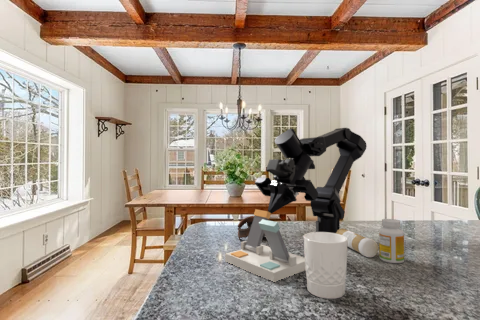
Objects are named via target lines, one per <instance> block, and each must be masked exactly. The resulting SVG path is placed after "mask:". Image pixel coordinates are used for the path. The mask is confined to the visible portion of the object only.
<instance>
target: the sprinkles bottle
mask: <svg viewBox="0 0 480 320" xmlns="http://www.w3.org/2000/svg"><path fill="white" fill-rule="evenodd" d="M336 234H340V235H343V236H345V237H347V239H348V242H347V248H350V249H351V250H353V251H354V252H355V251H356V252H357V253H360V255H362V256H364V257H367V258H374V257H375V256H376V255H377V254H378V253H379V244H378V242H376V241H375V240H374V239H371V238H370V237H366V236H362V235H361V234H358V233H356V232H354V231H352V230H348V229H347V228H345V227H344V228H343V227H342V228H341V227H340V229H339V230H338V231H337V232H336Z"/></svg>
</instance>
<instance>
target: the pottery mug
mask: <svg viewBox="0 0 480 320" xmlns="http://www.w3.org/2000/svg"><path fill="white" fill-rule="evenodd" d="M254 216H255V215H251V216H247V217H245V218H243V219H241V220H240V222H238V224H237V238H238V239H240V238H241V239H242V238H245V239H246V238H248V235H249V232H250V229H251V226H252V222H253V219H254ZM245 225H246V226H247V227H246V228H243V226H245ZM263 237H266V236H265V234H264V235H263Z"/></svg>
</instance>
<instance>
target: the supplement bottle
mask: <svg viewBox="0 0 480 320" xmlns="http://www.w3.org/2000/svg"><path fill="white" fill-rule="evenodd" d="M381 225H382V227H381V228H379V229H378V253H379V259H380V260H381V261H383V262H385V263H390V264H402V263H404V262H405V234H404V233H405V232H404V230H402V228H401V220H399V219H396V218H395V219H394V218H383V219H381ZM400 228H401V229H400Z"/></svg>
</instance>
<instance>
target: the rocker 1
mask: <svg viewBox="0 0 480 320" xmlns="http://www.w3.org/2000/svg"><path fill="white" fill-rule="evenodd" d="M271 215H272V213H270V212H268V210H261V209H257V208H255V209H254V213H253V216H254V219H253V222H252V226H251V229H250V232H249V235H248V236H247V237H246V238H247V239H246V241H247V242H246V245H245V249H248V250H251V251H254V252H256V247H257V246H260V245H261V244H262V241H263V238H264V236H263V235H264V231H263V229H261V228H260V225H259V222H260V221H261V220H262V219H264V220H270V218H271Z"/></svg>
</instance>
